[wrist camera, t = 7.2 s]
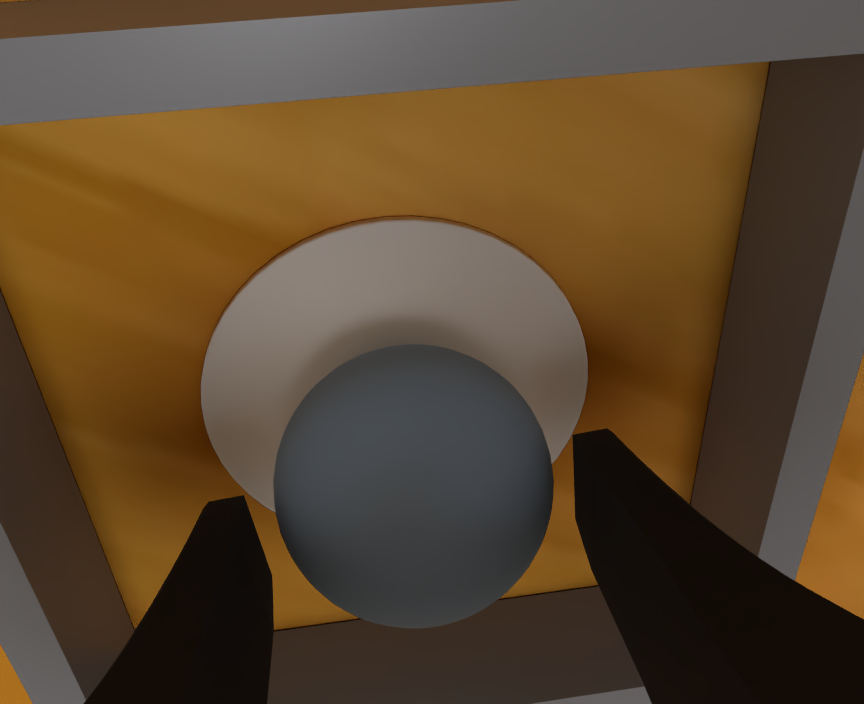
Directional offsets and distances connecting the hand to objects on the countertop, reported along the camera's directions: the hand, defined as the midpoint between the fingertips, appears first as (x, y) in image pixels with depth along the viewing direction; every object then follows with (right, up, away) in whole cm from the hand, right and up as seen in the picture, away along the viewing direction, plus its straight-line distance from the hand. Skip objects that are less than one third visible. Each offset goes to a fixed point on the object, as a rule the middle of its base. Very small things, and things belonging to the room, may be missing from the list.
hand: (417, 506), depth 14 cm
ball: (0, 0, 0) cm, 1 cm away
